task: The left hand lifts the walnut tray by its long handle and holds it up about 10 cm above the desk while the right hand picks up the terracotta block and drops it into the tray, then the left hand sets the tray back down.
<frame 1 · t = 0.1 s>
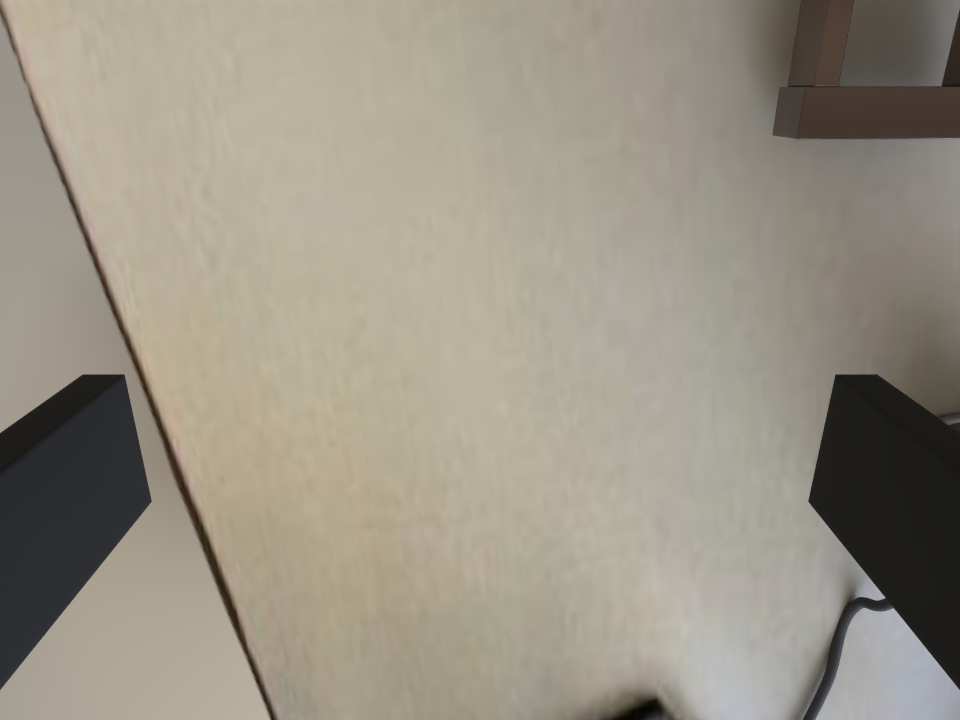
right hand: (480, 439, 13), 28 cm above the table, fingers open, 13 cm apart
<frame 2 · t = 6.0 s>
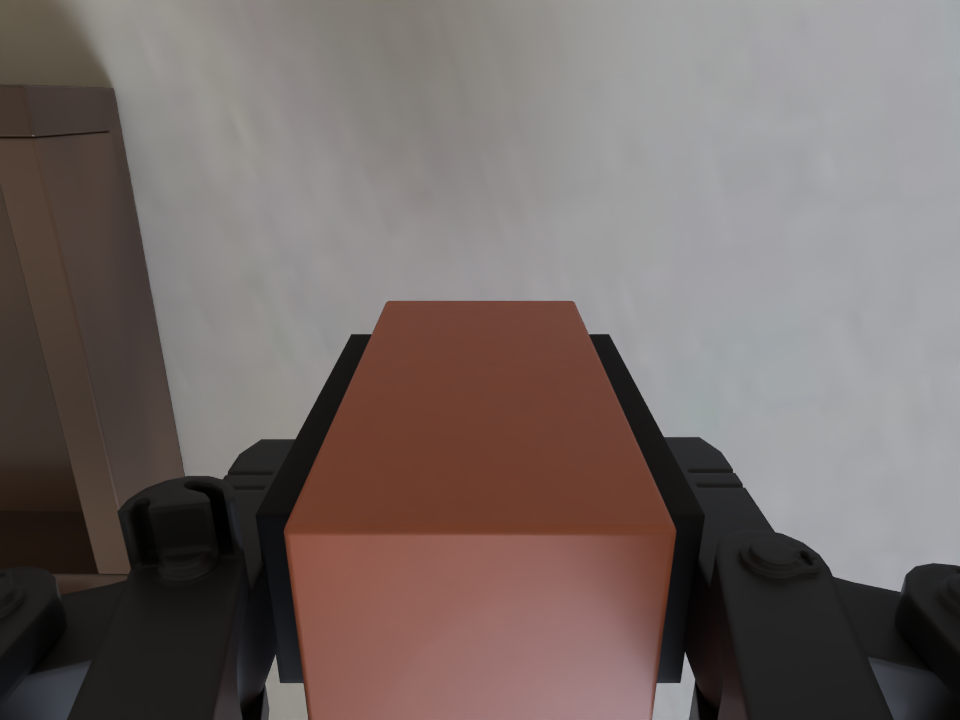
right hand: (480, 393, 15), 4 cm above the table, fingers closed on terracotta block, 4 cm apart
terracotta block: (480, 386, 15), point 4 cm above the table, touching right hand
when the right hand's fingers open (15 cm above the table, at t = 11.2 s): terracotta block drops 4 cm, resting on walnut tray.
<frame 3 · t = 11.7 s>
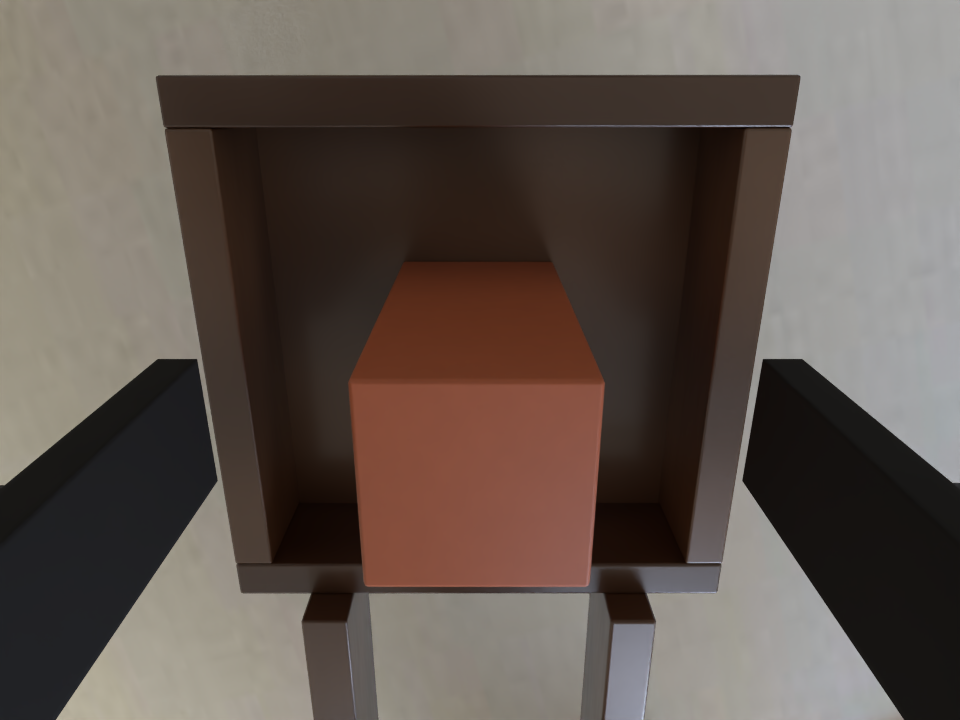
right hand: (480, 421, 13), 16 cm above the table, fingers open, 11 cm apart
terracotta block: (478, 332, 18), point 10 cm above the table, touching walnut tray
walnut tray: (478, 326, 19), point 10 cm above the table, touching left hand, terracotta block
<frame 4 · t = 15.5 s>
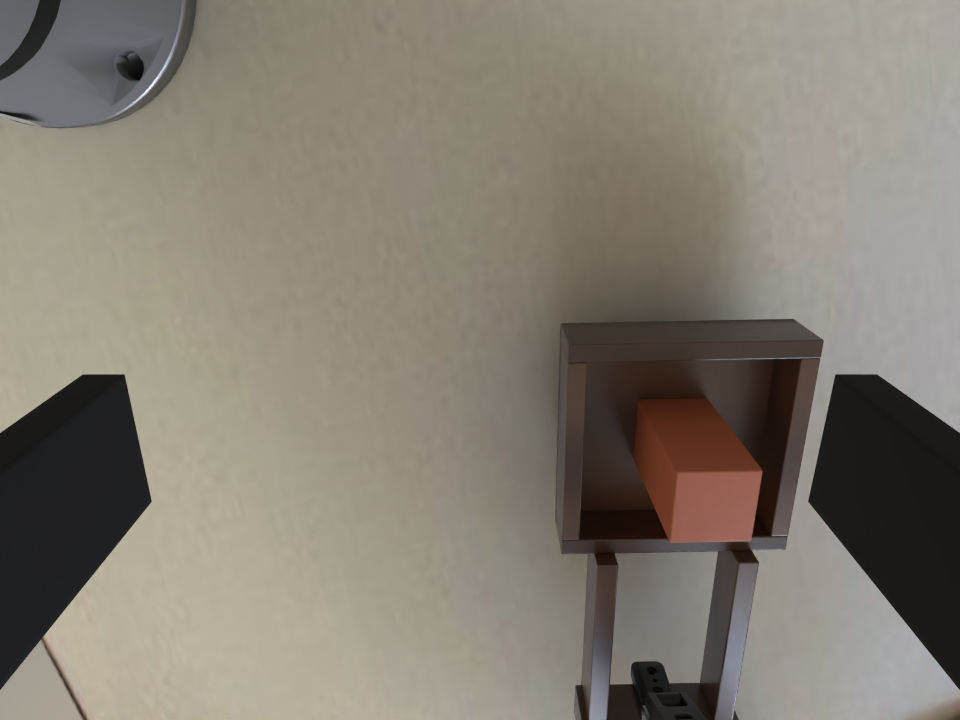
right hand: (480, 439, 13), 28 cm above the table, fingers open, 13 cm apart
terracotta block: (669, 429, 39), point 4 cm above the table, touching walnut tray
walnut tray: (667, 425, 40), point 3 cm above the table, touching left hand, terracotta block
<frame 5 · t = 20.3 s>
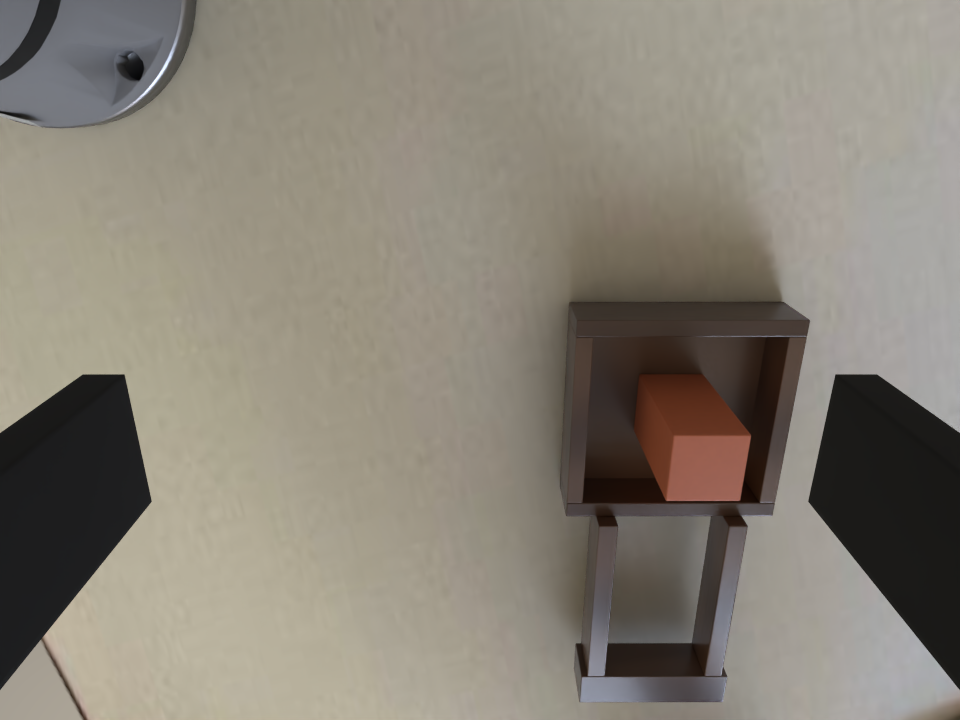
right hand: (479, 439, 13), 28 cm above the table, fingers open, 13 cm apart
terracotta block: (667, 402, 42), point 1 cm above the table, touching walnut tray
walnut tray: (665, 399, 43), on the table, touching terracotta block
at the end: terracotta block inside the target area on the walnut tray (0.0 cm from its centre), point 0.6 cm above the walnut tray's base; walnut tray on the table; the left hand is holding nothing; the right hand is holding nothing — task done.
